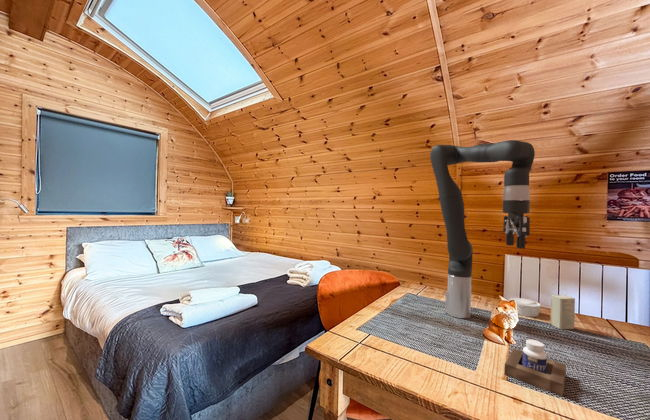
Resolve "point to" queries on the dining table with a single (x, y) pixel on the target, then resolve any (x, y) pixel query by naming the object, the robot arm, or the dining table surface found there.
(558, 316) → the skincare box
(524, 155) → the robot arm
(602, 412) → the dining table surface
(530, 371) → the socket block
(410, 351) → the dining table surface
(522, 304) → the ramekin
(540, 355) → the pill bottle
